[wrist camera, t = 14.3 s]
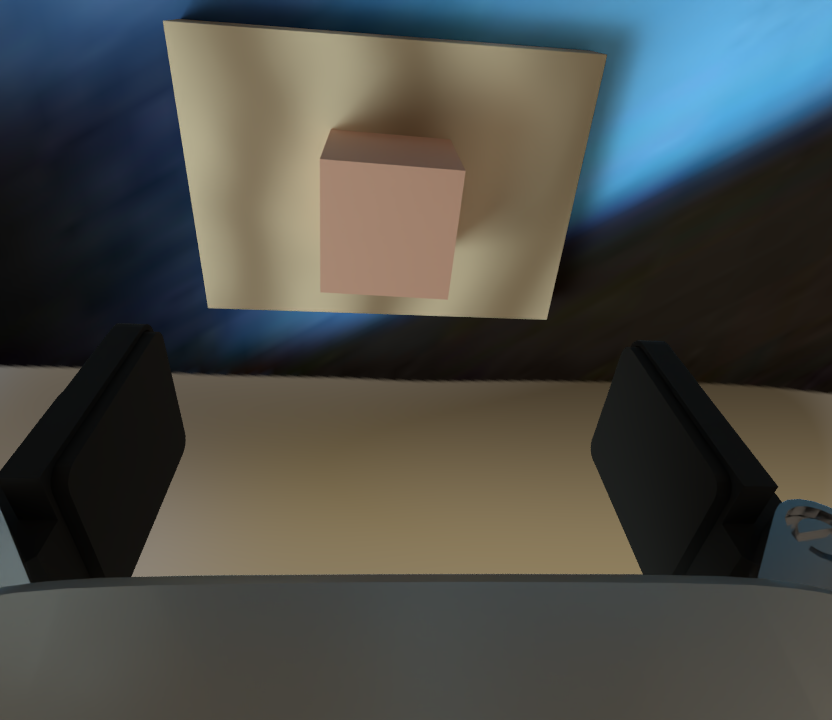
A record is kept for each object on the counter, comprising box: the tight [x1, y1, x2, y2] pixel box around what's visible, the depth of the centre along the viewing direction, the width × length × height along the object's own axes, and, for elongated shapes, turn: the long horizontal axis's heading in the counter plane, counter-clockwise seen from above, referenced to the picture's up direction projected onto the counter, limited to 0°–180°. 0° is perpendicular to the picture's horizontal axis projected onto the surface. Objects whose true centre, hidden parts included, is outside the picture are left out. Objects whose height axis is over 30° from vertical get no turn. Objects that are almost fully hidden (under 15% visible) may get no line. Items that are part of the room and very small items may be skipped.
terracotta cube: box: [320, 129, 466, 300], centre depth 22 cm, size 5×5×5 cm
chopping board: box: [163, 19, 607, 320], centre depth 25 cm, size 17×12×2 cm
